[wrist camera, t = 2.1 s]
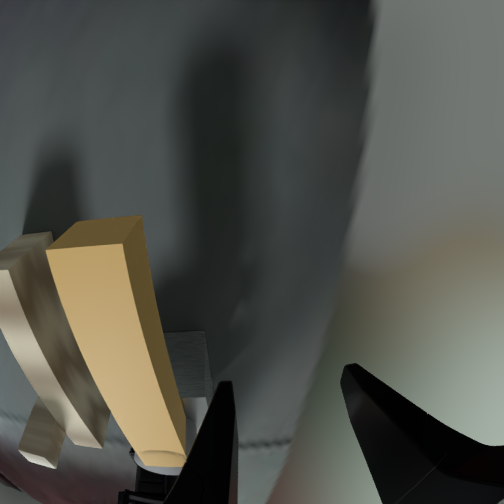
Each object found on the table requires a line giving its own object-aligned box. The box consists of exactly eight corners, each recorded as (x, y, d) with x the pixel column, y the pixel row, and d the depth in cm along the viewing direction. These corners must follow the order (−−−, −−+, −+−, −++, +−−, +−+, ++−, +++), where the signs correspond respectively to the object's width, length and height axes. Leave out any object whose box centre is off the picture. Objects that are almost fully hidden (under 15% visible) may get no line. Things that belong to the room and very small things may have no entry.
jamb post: (212, 380, 25) (215, 442, 19) (147, 382, 25) (138, 442, 18) (204, 330, 23) (205, 397, 17) (130, 333, 22) (113, 397, 16)
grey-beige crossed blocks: (113, 400, 25) (96, 484, 16) (64, 396, 25) (40, 471, 16) (51, 231, 18) (-30, 308, 9) (-4, 238, 17) (-81, 304, 8)
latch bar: (200, 440, 18) (201, 475, 16) (147, 440, 18) (144, 473, 15) (153, 213, 12) (137, 242, 9) (67, 222, 11) (34, 251, 8)
